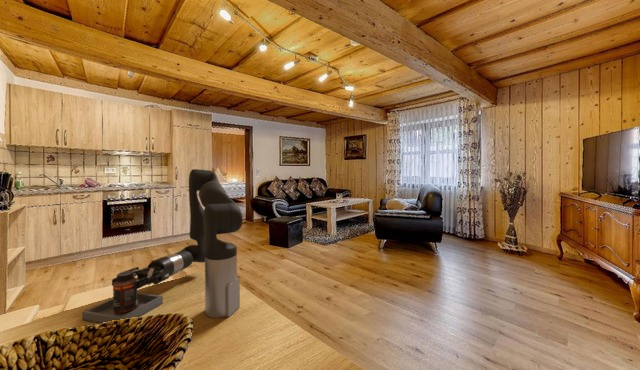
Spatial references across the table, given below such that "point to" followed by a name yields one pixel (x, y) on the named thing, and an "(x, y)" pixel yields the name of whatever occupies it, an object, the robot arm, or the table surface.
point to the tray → (106, 313)
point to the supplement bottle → (124, 293)
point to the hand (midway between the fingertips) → (123, 284)
